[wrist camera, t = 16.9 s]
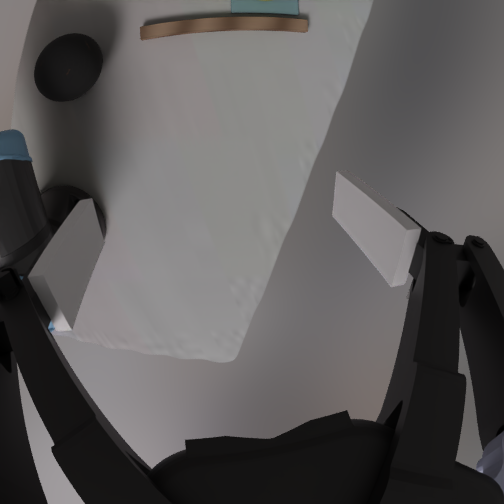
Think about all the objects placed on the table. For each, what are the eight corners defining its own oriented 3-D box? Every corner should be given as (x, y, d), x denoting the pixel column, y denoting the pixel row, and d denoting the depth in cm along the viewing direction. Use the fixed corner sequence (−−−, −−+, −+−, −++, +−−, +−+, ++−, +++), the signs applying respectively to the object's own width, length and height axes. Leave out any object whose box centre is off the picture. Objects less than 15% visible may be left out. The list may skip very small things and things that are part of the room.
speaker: (45, 91, 33) (13, 99, 24) (66, 33, 28) (37, 26, 20) (97, 104, 36) (73, 112, 28) (121, 43, 32) (101, 35, 24)
